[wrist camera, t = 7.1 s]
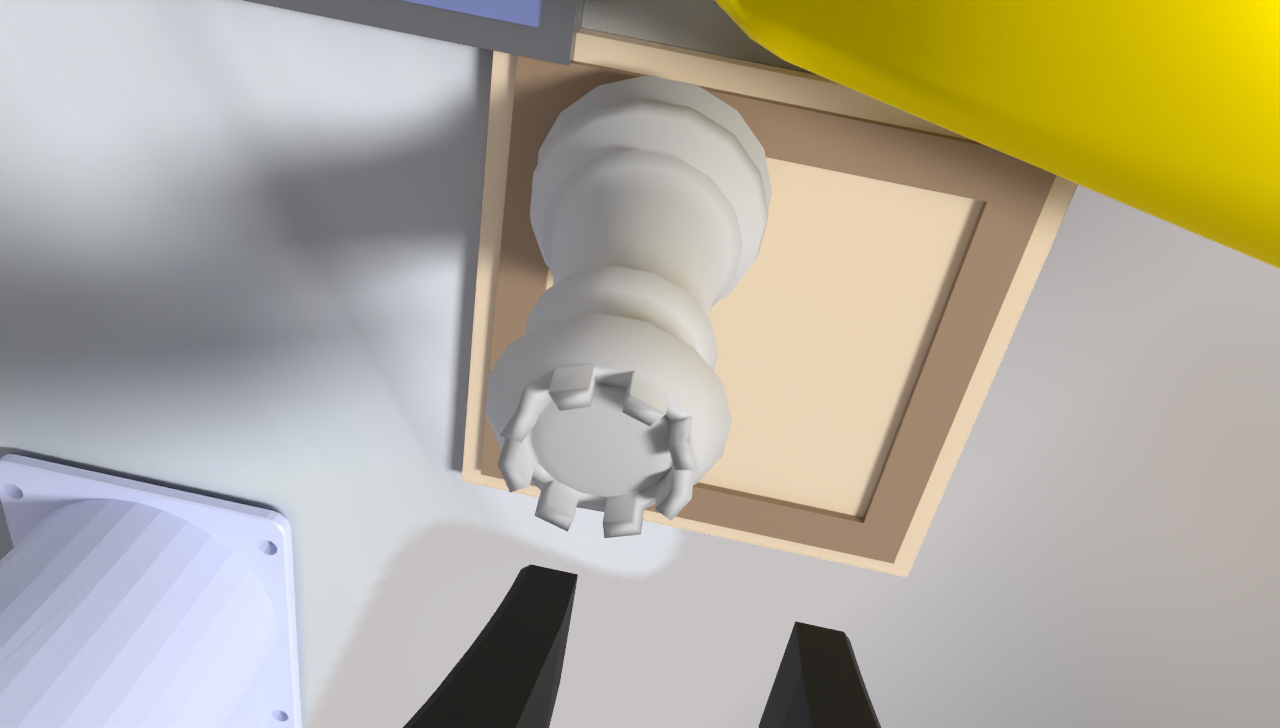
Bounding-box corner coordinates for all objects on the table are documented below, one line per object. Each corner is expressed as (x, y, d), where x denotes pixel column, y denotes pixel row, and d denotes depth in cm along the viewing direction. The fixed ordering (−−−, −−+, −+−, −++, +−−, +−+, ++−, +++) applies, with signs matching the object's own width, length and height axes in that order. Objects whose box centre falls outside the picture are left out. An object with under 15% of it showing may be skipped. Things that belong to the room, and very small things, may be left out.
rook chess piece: (493, 181, 18) (352, 459, 12) (646, 12, 16) (573, 243, 10) (660, 318, 20) (614, 629, 13) (821, 180, 18) (857, 475, 11)
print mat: (905, 566, 23) (907, 583, 22) (466, 471, 23) (459, 485, 23) (1092, 129, 17) (1101, 140, 16) (501, 12, 17) (492, 18, 17)
